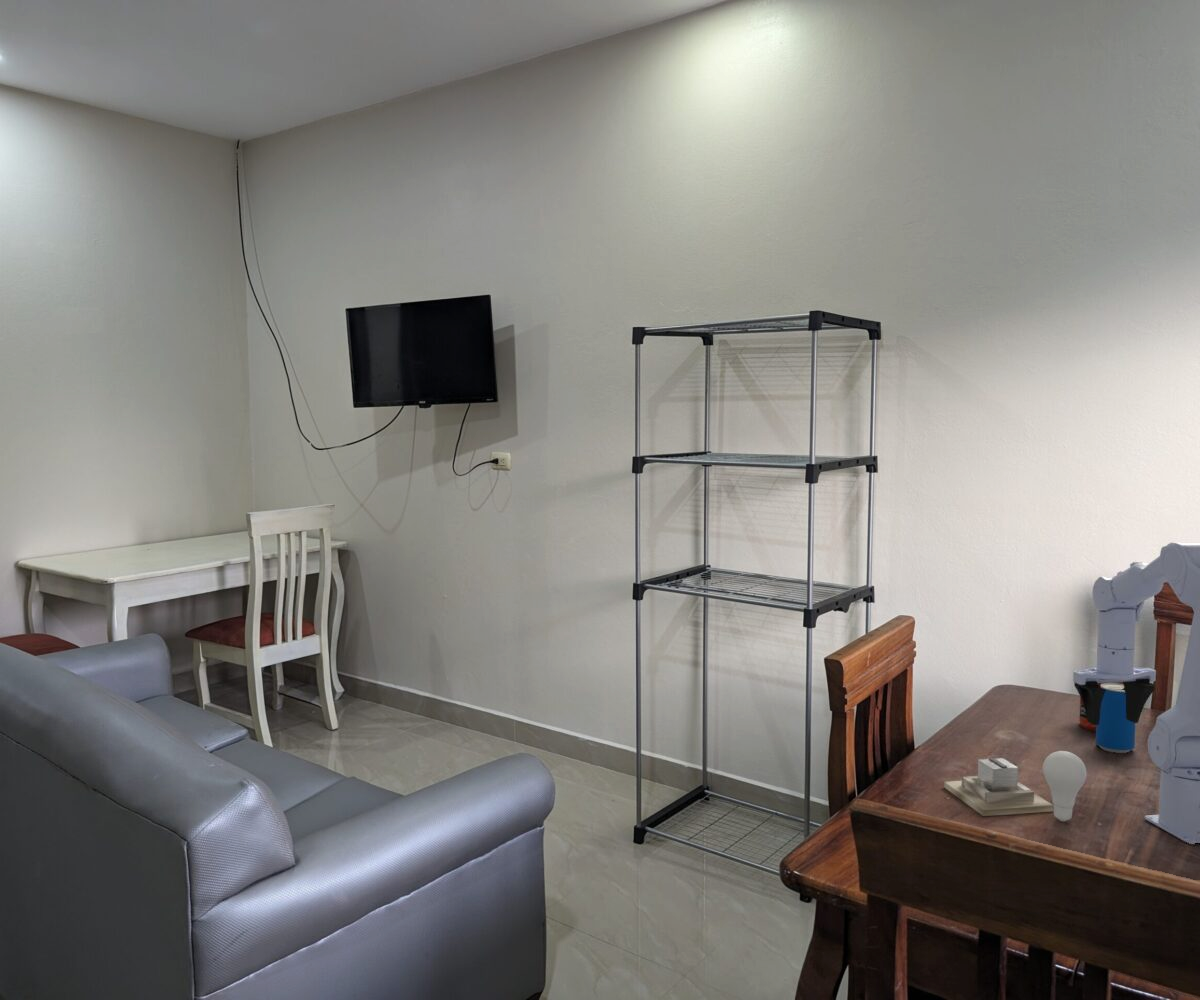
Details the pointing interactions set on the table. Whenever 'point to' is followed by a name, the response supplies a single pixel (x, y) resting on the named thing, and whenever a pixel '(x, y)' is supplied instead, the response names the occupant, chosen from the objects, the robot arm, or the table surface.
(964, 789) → the beige square tray
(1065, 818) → the lightbulb
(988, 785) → the block
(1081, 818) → the table surface
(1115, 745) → the beverage can
